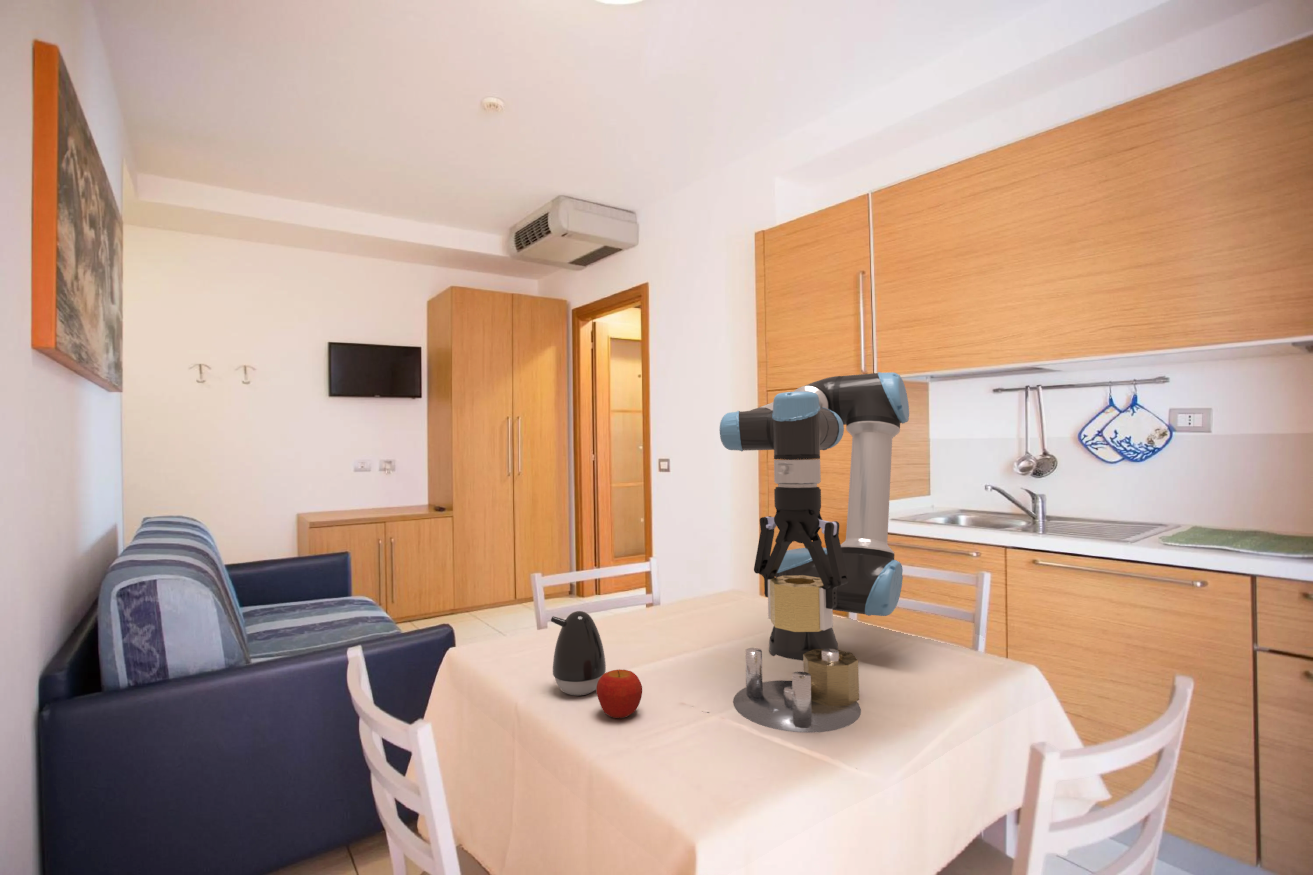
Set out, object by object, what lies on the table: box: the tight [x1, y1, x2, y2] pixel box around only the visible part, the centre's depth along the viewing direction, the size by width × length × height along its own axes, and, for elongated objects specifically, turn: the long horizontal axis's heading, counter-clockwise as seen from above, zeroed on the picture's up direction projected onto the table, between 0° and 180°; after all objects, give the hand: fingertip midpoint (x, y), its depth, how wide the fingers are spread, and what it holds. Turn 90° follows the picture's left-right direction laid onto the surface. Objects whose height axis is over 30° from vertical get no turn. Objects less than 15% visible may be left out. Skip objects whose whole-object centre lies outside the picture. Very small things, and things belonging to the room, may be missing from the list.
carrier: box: [732, 647, 862, 734], centre depth 110 cm, size 22×22×9 cm
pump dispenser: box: [550, 610, 607, 697], centre depth 119 cm, size 10×10×15 cm
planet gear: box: [770, 575, 824, 632], centre depth 102 cm, size 9×9×7 cm
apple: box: [596, 668, 643, 719], centre depth 108 cm, size 8×8×8 cm
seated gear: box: [802, 649, 860, 706], centre depth 113 cm, size 9×9×7 cm
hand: (799, 622), depth 102 cm, fingers closed on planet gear, 9 cm apart
